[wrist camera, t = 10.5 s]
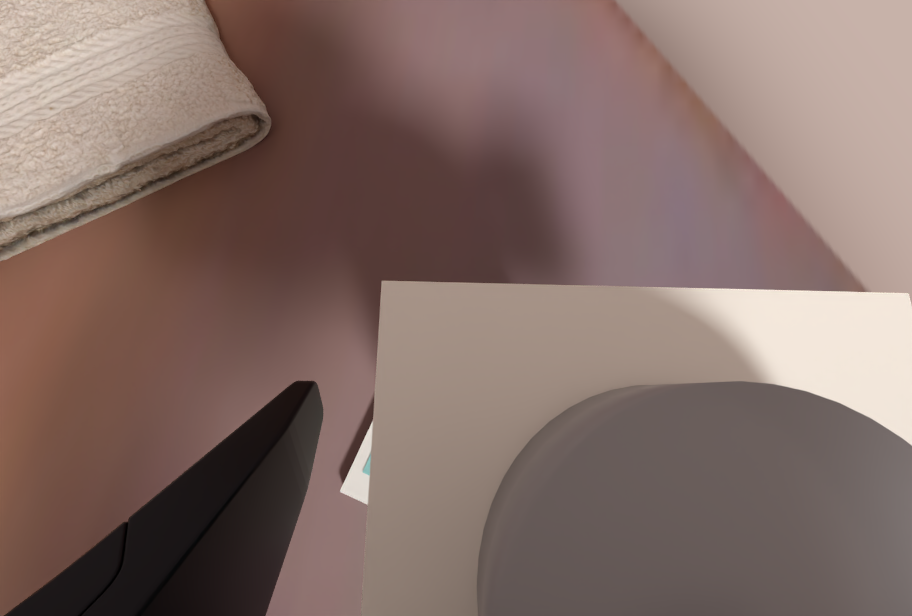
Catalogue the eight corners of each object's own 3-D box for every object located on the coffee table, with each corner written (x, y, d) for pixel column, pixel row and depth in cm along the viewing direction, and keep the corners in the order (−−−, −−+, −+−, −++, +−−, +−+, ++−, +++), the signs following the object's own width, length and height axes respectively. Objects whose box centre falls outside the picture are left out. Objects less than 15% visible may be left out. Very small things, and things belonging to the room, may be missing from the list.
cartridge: (557, 501, 15) (1504, 1426, 2) (426, 499, 15) (237, 1454, 2) (553, 368, 16) (1083, 244, 3) (430, 365, 16) (344, 224, 3)
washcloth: (-141, 115, 20) (-249, 64, 16) (195, -22, 22) (155, -89, 19) (-78, 314, 17) (-189, 298, 14) (286, 140, 20) (257, 94, 17)
